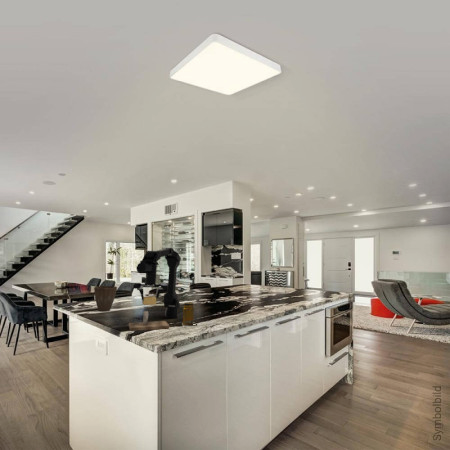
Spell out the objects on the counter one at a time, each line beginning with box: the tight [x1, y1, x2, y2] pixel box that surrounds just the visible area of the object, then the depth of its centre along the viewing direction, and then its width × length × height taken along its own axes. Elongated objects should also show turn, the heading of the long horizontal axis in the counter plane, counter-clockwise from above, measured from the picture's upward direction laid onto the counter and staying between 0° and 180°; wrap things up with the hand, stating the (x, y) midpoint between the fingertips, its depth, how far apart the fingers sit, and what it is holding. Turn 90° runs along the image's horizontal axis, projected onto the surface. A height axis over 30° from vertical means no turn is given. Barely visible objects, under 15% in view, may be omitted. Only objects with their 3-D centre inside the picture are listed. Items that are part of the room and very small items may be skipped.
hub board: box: [128, 310, 170, 332], centre depth 162 cm, size 20×12×8 cm, turn 111°
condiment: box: [181, 302, 195, 327], centre depth 171 cm, size 7×8×12 cm
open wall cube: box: [141, 296, 157, 306], centre depth 165 cm, size 7×7×4 cm
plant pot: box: [93, 285, 118, 312], centre depth 206 cm, size 15×15×16 cm
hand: (149, 301), depth 165 cm, fingers closed on open wall cube, 7 cm apart
